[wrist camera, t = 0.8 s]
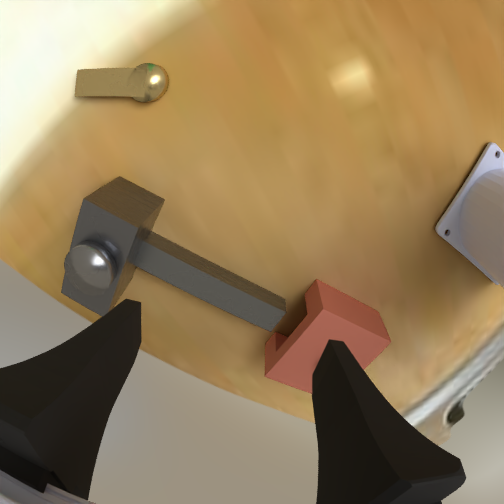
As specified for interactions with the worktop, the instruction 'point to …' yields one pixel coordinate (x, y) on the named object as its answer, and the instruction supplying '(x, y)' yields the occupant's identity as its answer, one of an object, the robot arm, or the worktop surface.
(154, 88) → the key
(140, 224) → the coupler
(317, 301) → the lock
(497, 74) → the worktop surface
